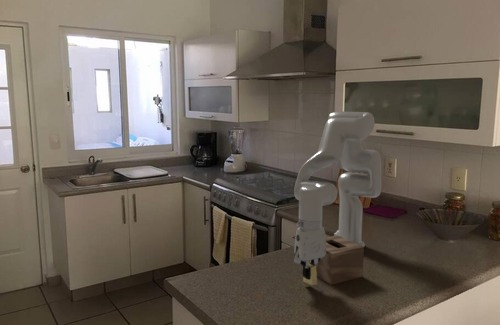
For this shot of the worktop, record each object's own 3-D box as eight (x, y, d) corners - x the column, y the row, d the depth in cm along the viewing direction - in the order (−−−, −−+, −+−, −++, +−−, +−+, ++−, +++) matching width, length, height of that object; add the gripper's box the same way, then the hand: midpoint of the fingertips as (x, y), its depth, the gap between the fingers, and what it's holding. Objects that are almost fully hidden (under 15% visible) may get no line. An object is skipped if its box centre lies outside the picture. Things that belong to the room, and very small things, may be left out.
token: (303, 281, 140) (302, 263, 140) (308, 280, 141) (307, 262, 141) (312, 285, 136) (311, 267, 135) (317, 284, 137) (316, 265, 136)
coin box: (306, 270, 153) (307, 241, 151) (336, 263, 159) (337, 235, 158) (331, 284, 141) (332, 253, 139) (362, 276, 147) (364, 246, 146)
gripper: (296, 231, 129) (296, 287, 132) (336, 223, 136) (335, 276, 139) (283, 224, 135) (283, 278, 138) (322, 217, 142) (321, 268, 145)
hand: (309, 277), depth 139 cm, fingers closed on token, 1 cm apart
